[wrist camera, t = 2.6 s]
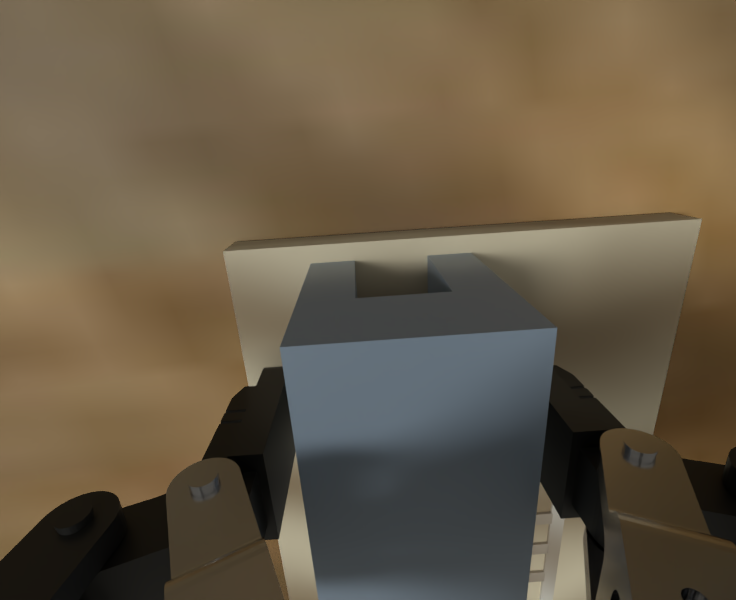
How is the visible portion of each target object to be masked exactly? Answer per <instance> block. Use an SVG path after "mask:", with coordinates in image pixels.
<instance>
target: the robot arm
mask: <svg viewBox="0 0 736 600" xmlns="http://www.w3.org/2000/svg"><path fill="white" fill-rule="evenodd" d="M295 452H296V451H295V444H294V438H293V431H292V425H291V418H290V412H289V405H288V398H287V392H286V385H285V379H284V372H283V366H280V367H266V368H263V370H262V373H261V375H260V378H259V380H258V382H257V385H256V386H247V387H244V388H243V389H242V390H241V391H240V392H238V393H237V394H236V395H235V396H234V397H233V398H232V399H231V402H230V404H229V406H228V408H227V410H226V413H225V414H224V416H223V418H222V420H221V424H219V426H218V428H217V430H216V432H215V434H214V436H213V438H212V440H211V442H210V444H209V446H208V449H207V451H206V453H205V455H204V457H203V459H202V461H199V462H197V463H194V464H192V465H190V466H189V467H187V468H186V469H184V470H183V471H181V472H180V473H179V474H178V475H177V476H176V477H175V478H174V479H173V480H172V482H171V483H170V485H169V487H168V489H167V492H166V494H164V495H161V496H159V497H156V498H153V499H150V500H147V501H143V502H140V503H137V504H134V505H131V506H127V507H124V508H122V507H121V504H120V501H119V499H118V497H117V496H116V495H115V494H113V493H111V492H106V491H97V492H91V493H87V494H83V495H80V496H78V497H75V498H73V499H71V500H69V501H67V502H65V503H63V504H61V505H60V506H58V507H57V508H55V509H54V510H53V511H51V512H50V513H49V514H47V515H46V516H45V517H44V518H43V519H42V520H41V521H40V522H39V523H38V524H37V525H36V526H35V527H34V528H33V529H32V530H31V531H30V532H29V533H28V534H27V535H26V536H25V537H24V538H23V539H22V540H21V541H20V542H19V543H18V544H17V545H16V546H15V547H14V548H13V549H12V550H11V551H10V552H9V553H8V554H7V555H6V556H5V557H4V558H3V559H2V560H1V561H0V600H284V597H283V594H282V591H281V588H280V585H279V581H278V578H277V575H276V572H275V569H274V566H273V563H272V560H271V557H270V553H269V550H268V547H267V544H266V542H265V540H271V539H279V536H280V531H281V526H282V520H283V515H284V510H285V505H286V499H287V494H288V489H289V484H290V478H291V473H292V468H293V463H294V458H295ZM540 482H541V484H542V486H543V488H544V490H545V491H546V493H547V495H548V497H549V498H550V500H551V502H552V504H553V506H554V507H555V509H556V511H557V513H558V514H559V516H560V518H561V519H564V518H578V517H580V518H581V519H582V521H583V523H584V524H585V529H584V535H583V549H584V566H585V583H586V600H736V447H734V448H733V449H731V451H730V452H729V455H728V458H727V462H726V465H721V464H715V463H708V462H701V461H694V460H688V459H682V458H681V457H680V455H679V454H678V452H677V451H676V450H675V449H674V448H673V447H672V446H671V445H669V444H668V443H667V442H665V441H663V440H662V439H660V438H658V437H656V436H654V435H651V434H649V433H646V432H643V431H639V430H635V429H628V428H625V427H624V426H623V425H622V424H621V423H620V422H619V421H618V420H617V419H616V418H615V417H614V416H613V414H612V413H611V412H610V411H609V410H608V409H607V408H606V407H605V406H604V405H603V404H602V403H601V402H600V401H599V400H598V399H597V398H594V395H593V394H592V393H591V392H590V391H589V390H588V389H587V388H584V385H583V384H582V383H581V382H580V381H579V380H578V379H577V378H576V377H575V376H574V375H573V374H571V373H570V372H568V371H566V370H564V369H562V368H560V367H559V366H557V365H553V372H552V380H551V389H550V398H549V407H548V416H547V425H546V433H545V442H544V451H543V460H542V469H541V478H540Z"/></svg>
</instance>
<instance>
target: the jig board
mask: <svg viewBox="0 0 736 600" xmlns="http://www.w3.org/2000/svg"><path fill="white" fill-rule="evenodd" d="M701 221H702V219H700V218H695V217H689V216H684V215H679V214H674V213H656V214H641V215H626V216H611V217H596V218H582V219H567V220H552V221H537V222H522V223H507V224H493V225H478V226H463V227H448V228H433V229H418V230H403V231H389V232H374V233H359V234H344V235H329V236H314V237H300V238H285V239H270V240H255V241H240V242H234V243H233V244H232V245H231V246H229V247H228V248H227V249H225V250H224V251H223V254H224V259H225V264H226V270H227V275H228V280H229V285H230V291H231V296H232V301H233V306H234V312H235V317H236V322H237V327H238V332H239V338H240V343H241V348H242V353H243V359H244V364H245V369H246V374H247V380H248V385H249V386H256V385H257V382H258V380H259V378H260V375H261V373H262V370H263V368H266V367H280V366H282V359H281V353H280V345H281V342H282V340H283V337H284V334H285V332H286V329H287V326H288V323H289V321H290V318H291V315H292V313H293V310H294V307H295V305H296V302H297V299H298V297H299V294H300V291H301V288H302V286H303V283H304V280H305V278H306V275H307V272H308V270H309V267H310V264H311V263H326V262H341V261H355V272H356V286H357V298H366V297H380V296H395V295H409V294H424V293H428V262H427V256H429V255H443V254H458V253H472V254H473V255H474V256H475V257H477V258H478V259H479V260H480V261H481V262H482V263H484V264H485V265H486V266H487V267H488V268H489V269H490V270H492V271H493V272H494V273H495V274H496V275H497V276H498V277H500V278H501V279H502V280H503V281H504V282H505V283H507V284H508V285H509V286H510V287H511V288H512V289H513V290H515V291H516V292H517V293H518V294H519V295H520V296H522V297H523V298H524V299H525V300H526V301H527V302H528V303H530V304H531V305H532V306H533V307H534V308H535V309H537V310H538V311H539V312H540V313H541V314H542V315H543V316H545V317H546V318H547V319H548V320H549V321H550V322H551V323H553V324H554V325H555V326H556V327H557V336H556V345H555V354H554V363H553V365H557V366H559V367H560V368H562V369H564V370H566V371H568V372H570V373H571V374H573V375H574V376H575V377H576V378H577V379H578V380H579V381H580V382H581V383H582V384H583V385H584V388H587V389H588V390H589V391H590V392H591V393H592V394H593V395H594V398H597V399H598V400H599V401H600V402H601V403H602V404H603V405H604V406H605V407H606V408H607V409H608V410H609V411H610V412H611V413H612V414H613V416H614V417H615V418H616V419H617V420H618V421H619V422H620V423H621V424H622V425H623V426H624V427H625V428H628V429H635V430H639V431H643V432H646V433H649V434H651V435H653V432H654V428H655V424H656V419H657V415H658V410H659V406H660V402H661V397H662V393H663V388H664V384H665V379H666V375H667V371H668V366H669V362H670V357H671V353H672V349H673V344H674V340H675V335H676V331H677V327H678V322H679V318H680V313H681V309H682V305H683V300H684V296H685V291H686V287H687V283H688V278H689V274H690V269H691V265H692V261H693V256H694V252H695V247H696V243H697V239H698V234H699V230H700V225H701ZM584 529H585V524H584V523H583V521H582V519H581V518H580V517H578V518H564V519H561V518H560V516H559V514H558V513H557V511H556V509H555V507H554V506H553V504H552V502H551V500H550V498H549V497H548V495H547V493H546V491H545V490H544V488H543V486H542V484H541V482H540V486H539V495H538V504H537V513H536V522H535V530H534V539H533V548H532V557H531V566H530V575H529V583H528V592H527V600H586V583H585V566H584V549H583V535H584ZM278 542H279V548H280V553H281V558H282V563H283V569H284V574H285V579H286V584H287V590H288V595H289V600H318V594H317V587H316V581H315V574H314V568H313V561H312V555H311V548H310V542H309V535H308V529H307V522H306V516H305V509H304V503H303V496H302V490H301V483H300V477H299V470H298V464H297V457H296V452H295V458H294V463H293V468H292V473H291V478H290V484H289V489H288V494H287V499H286V505H285V510H284V515H283V520H282V526H281V531H280V536H279V539H278Z"/></svg>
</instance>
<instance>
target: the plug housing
mask: <svg viewBox="0 0 736 600" xmlns="http://www.w3.org/2000/svg"><path fill="white" fill-rule="evenodd" d="M427 262H428V293H424V294H409V295H395V296H380V297H366V298H357V286H356V272H355V261H341V262H326V263H311V264H310V267H309V270H308V272H307V275H306V278H305V280H304V283H303V286H302V288H301V291H300V294H299V297H298V299H297V302H296V305H295V307H294V310H293V313H292V315H291V318H290V321H289V323H288V326H287V329H286V332H285V334H284V337H283V340H282V342H281V345H280V353H281V359H282V366H283V372H284V379H285V385H286V392H287V398H288V405H289V412H290V418H291V425H292V431H293V438H294V444H295V451H296V457H297V464H298V470H299V477H300V483H301V490H302V496H303V503H304V509H305V516H306V522H307V529H308V535H309V542H310V548H311V555H312V561H313V568H314V574H315V581H316V587H317V594H318V600H527V592H528V583H529V575H530V566H531V557H532V548H533V539H534V530H535V522H536V513H537V504H538V495H539V486H540V478H541V469H542V460H543V451H544V442H545V433H546V425H547V416H548V407H549V398H550V389H551V380H552V372H553V363H554V354H555V345H556V336H557V327H556V326H555V325H554V324H553V323H551V322H550V321H549V320H548V319H547V318H546V317H545V316H543V315H542V314H541V313H540V312H539V311H538V310H537V309H535V308H534V307H533V306H532V305H531V304H530V303H528V302H527V301H526V300H525V299H524V298H523V297H522V296H520V295H519V294H518V293H517V292H516V291H515V290H513V289H512V288H511V287H510V286H509V285H508V284H507V283H505V282H504V281H503V280H502V279H501V278H500V277H498V276H497V275H496V274H495V273H494V272H493V271H492V270H490V269H489V268H488V267H487V266H486V265H485V264H484V263H482V262H481V261H480V260H479V259H478V258H477V257H475V256H474V255H473V254H472V253H458V254H443V255H429V256H427Z"/></svg>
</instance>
